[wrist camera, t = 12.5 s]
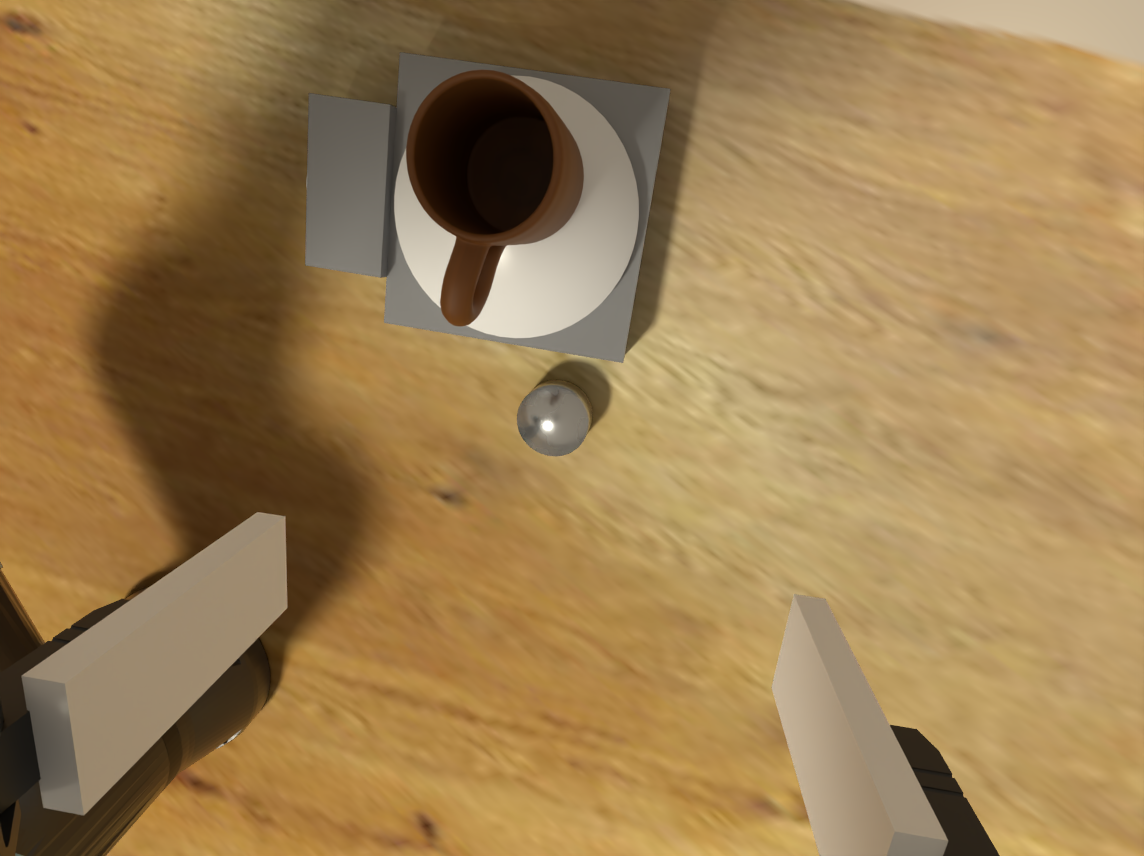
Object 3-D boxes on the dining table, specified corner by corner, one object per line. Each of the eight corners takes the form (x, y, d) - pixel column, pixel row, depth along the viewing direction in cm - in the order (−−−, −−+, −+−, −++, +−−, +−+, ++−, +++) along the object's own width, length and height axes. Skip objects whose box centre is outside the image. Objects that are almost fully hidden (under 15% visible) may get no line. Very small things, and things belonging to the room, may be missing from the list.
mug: (546, 329, 40) (516, 355, 31) (432, 294, 40) (370, 309, 31) (602, 129, 37) (586, 93, 28) (476, 91, 37) (420, 43, 28)
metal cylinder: (562, 460, 47) (556, 470, 45) (510, 414, 46) (502, 423, 44) (606, 412, 45) (603, 420, 43) (553, 365, 45) (547, 371, 43)
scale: (328, 305, 45) (299, 311, 42) (337, 54, 41) (304, 35, 37) (624, 354, 44) (622, 365, 40) (669, 100, 39) (671, 84, 35)
